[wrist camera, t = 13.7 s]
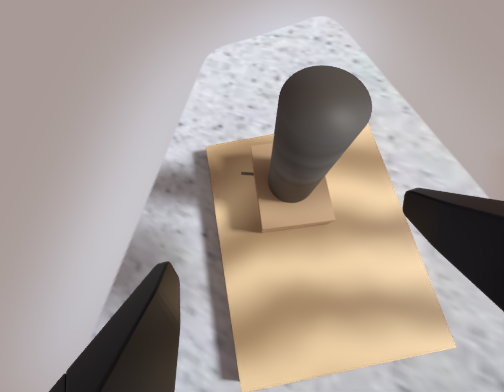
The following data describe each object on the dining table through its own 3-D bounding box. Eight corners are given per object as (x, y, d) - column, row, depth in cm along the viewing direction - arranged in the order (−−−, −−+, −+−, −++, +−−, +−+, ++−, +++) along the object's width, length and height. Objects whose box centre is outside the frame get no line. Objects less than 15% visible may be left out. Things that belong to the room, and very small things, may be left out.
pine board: (440, 340, 17) (456, 347, 16) (243, 381, 17) (241, 393, 15) (359, 126, 23) (366, 117, 21) (209, 153, 22) (205, 146, 21)
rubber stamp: (325, 224, 19) (425, 175, 8) (262, 233, 19) (268, 196, 8) (309, 151, 21) (369, 27, 9) (251, 159, 20) (244, 42, 9)
